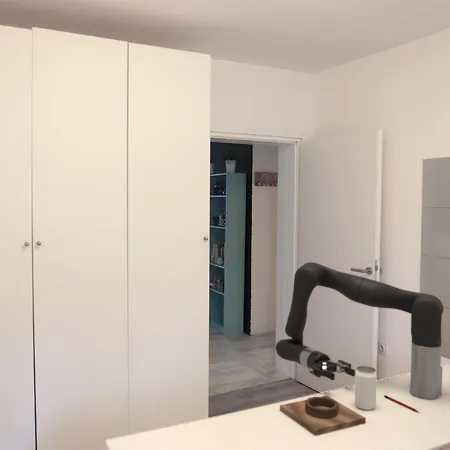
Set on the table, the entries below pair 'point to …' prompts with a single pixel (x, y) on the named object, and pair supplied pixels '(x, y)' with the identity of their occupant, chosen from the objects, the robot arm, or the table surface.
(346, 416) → the socket board
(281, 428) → the table surface
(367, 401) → the can
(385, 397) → the pencil
